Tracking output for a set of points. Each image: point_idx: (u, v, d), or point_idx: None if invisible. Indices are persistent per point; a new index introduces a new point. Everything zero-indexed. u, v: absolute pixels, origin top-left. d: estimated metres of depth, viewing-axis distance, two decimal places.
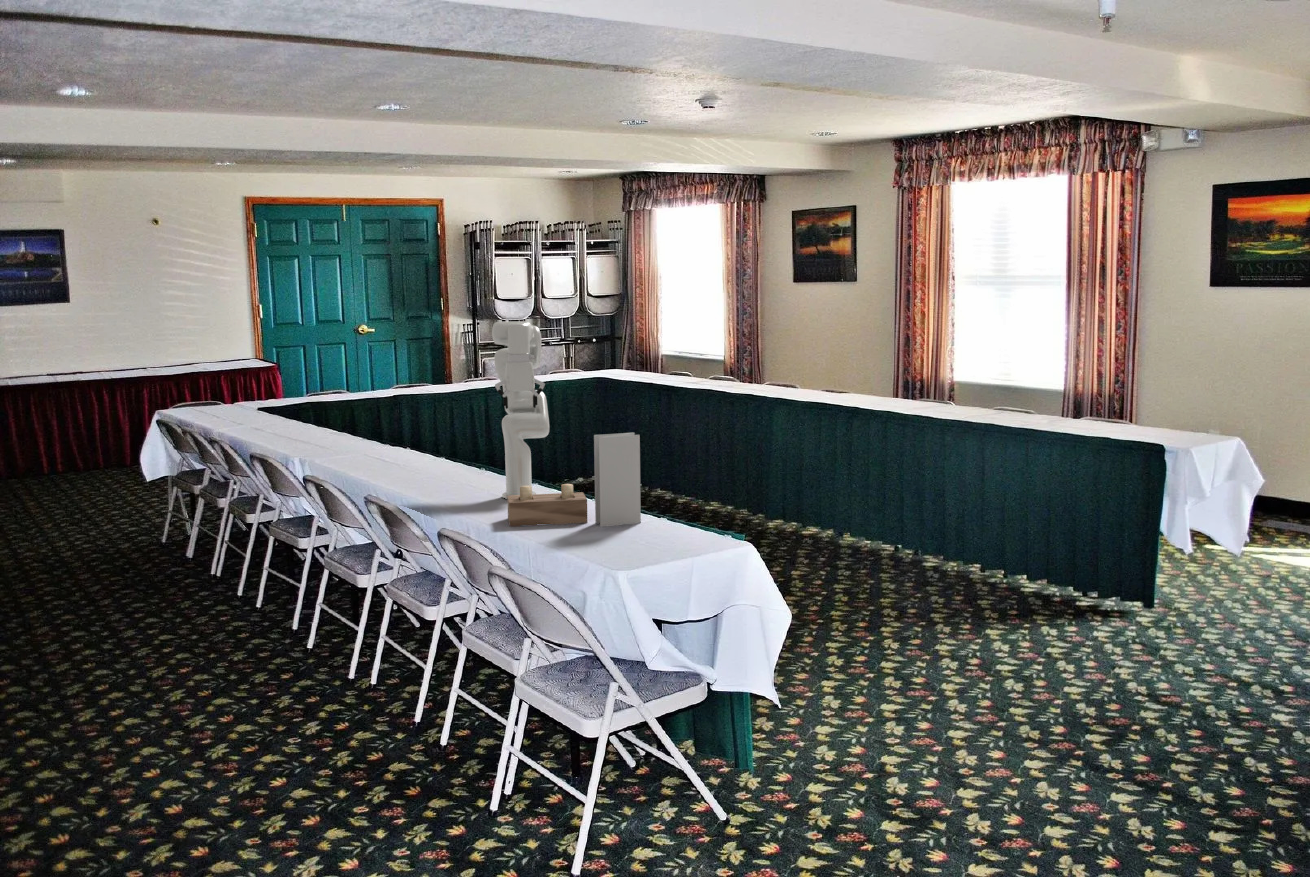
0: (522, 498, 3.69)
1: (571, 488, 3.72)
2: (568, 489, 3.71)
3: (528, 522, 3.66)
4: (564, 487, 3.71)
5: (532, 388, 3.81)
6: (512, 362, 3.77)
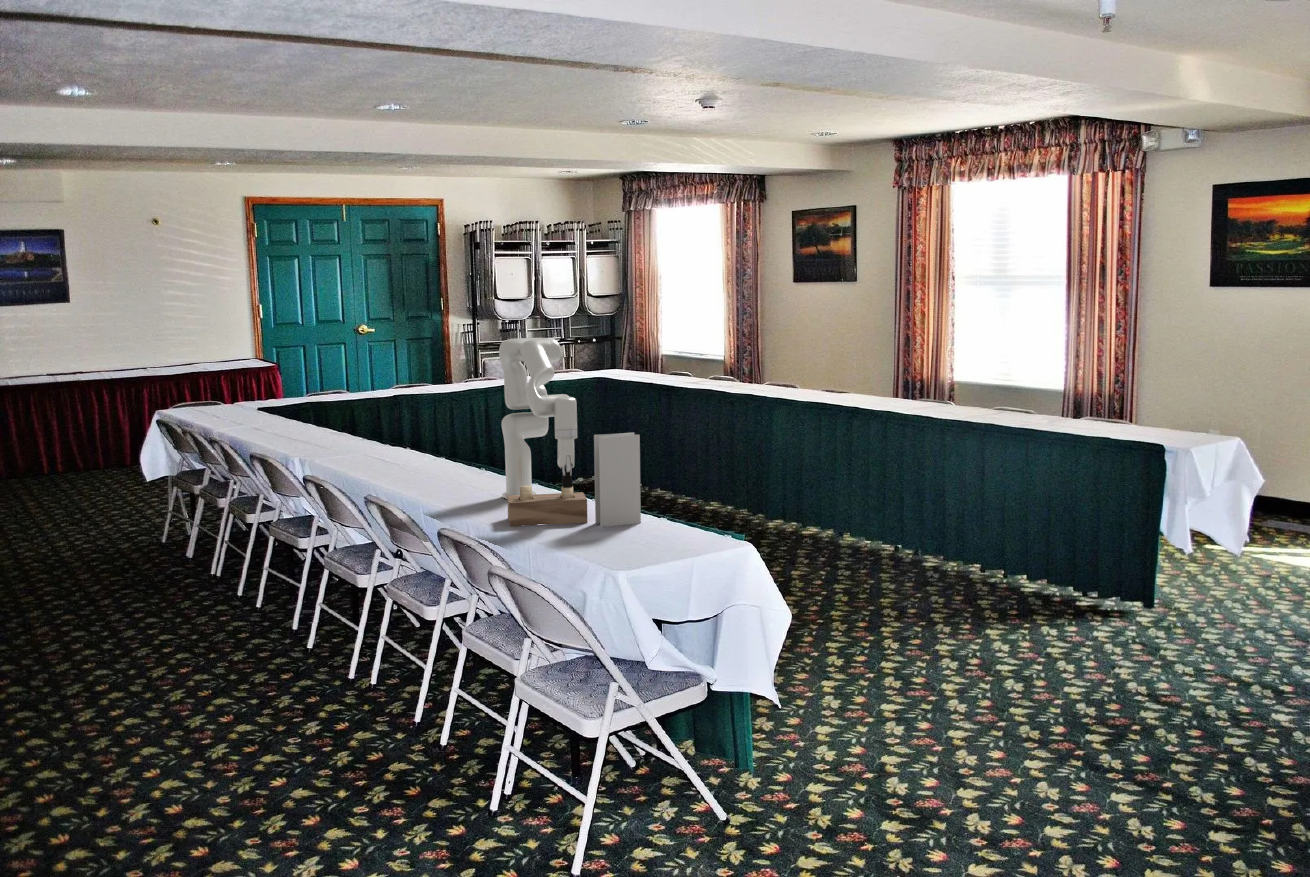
0: (522, 498, 3.69)
1: (571, 490, 3.72)
2: (568, 491, 3.71)
3: (528, 522, 3.66)
4: (564, 489, 3.71)
5: None
6: (575, 437, 3.68)
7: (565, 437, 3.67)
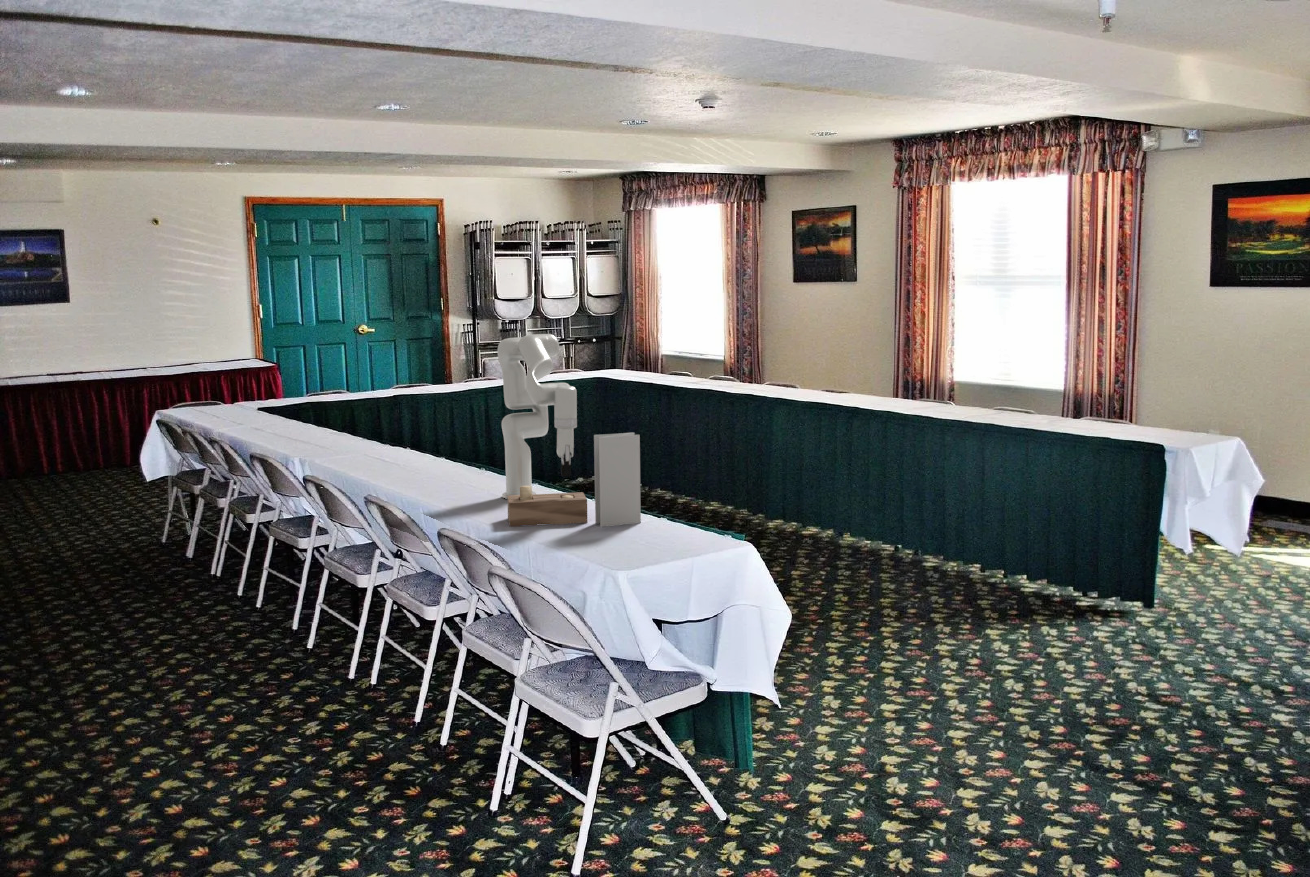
0: (522, 498, 3.69)
1: None
2: None
3: (528, 522, 3.66)
4: None
5: None
6: (574, 426, 3.68)
7: (565, 426, 3.66)
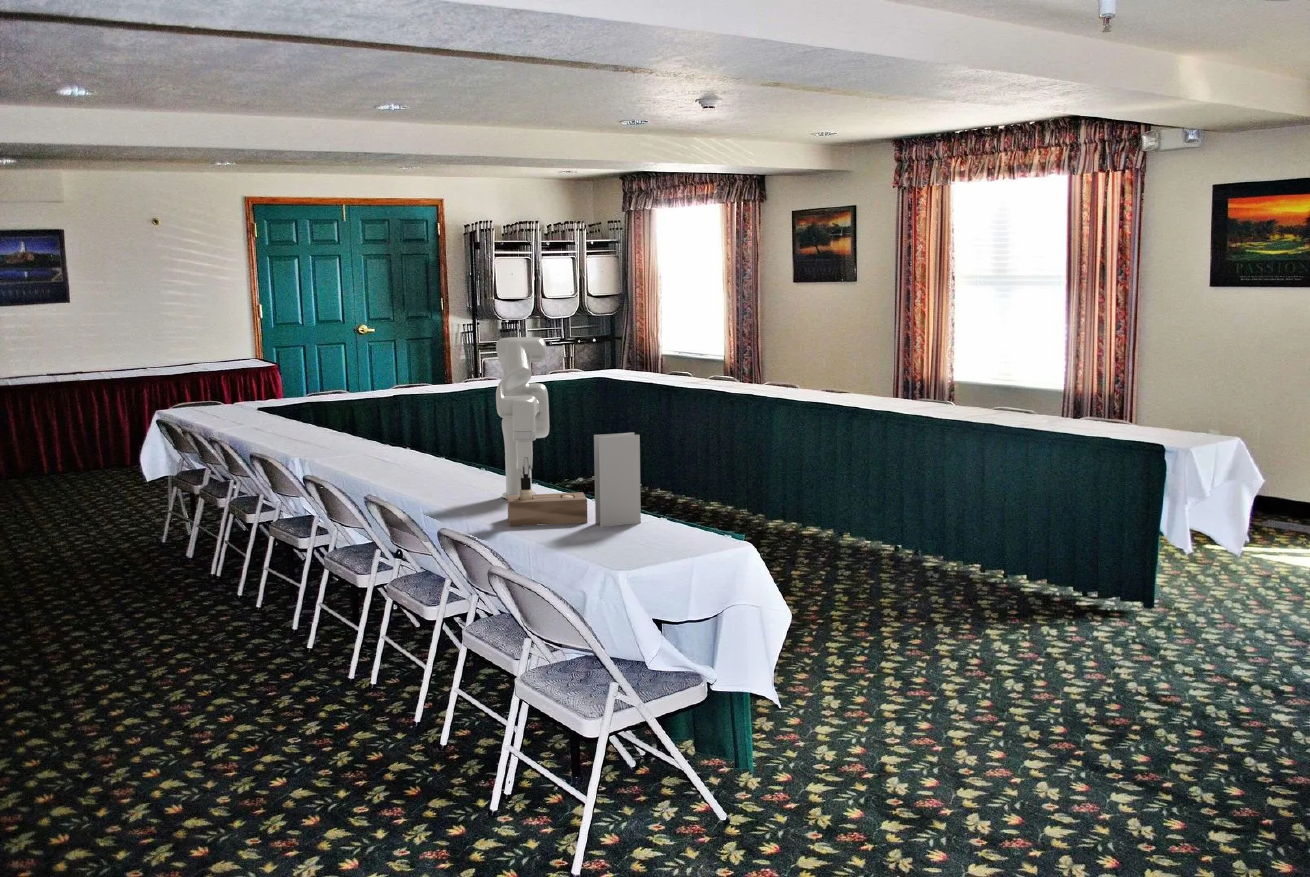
0: None
1: None
2: None
3: (528, 522, 3.66)
4: None
5: None
6: (533, 439, 3.66)
7: (523, 439, 3.64)
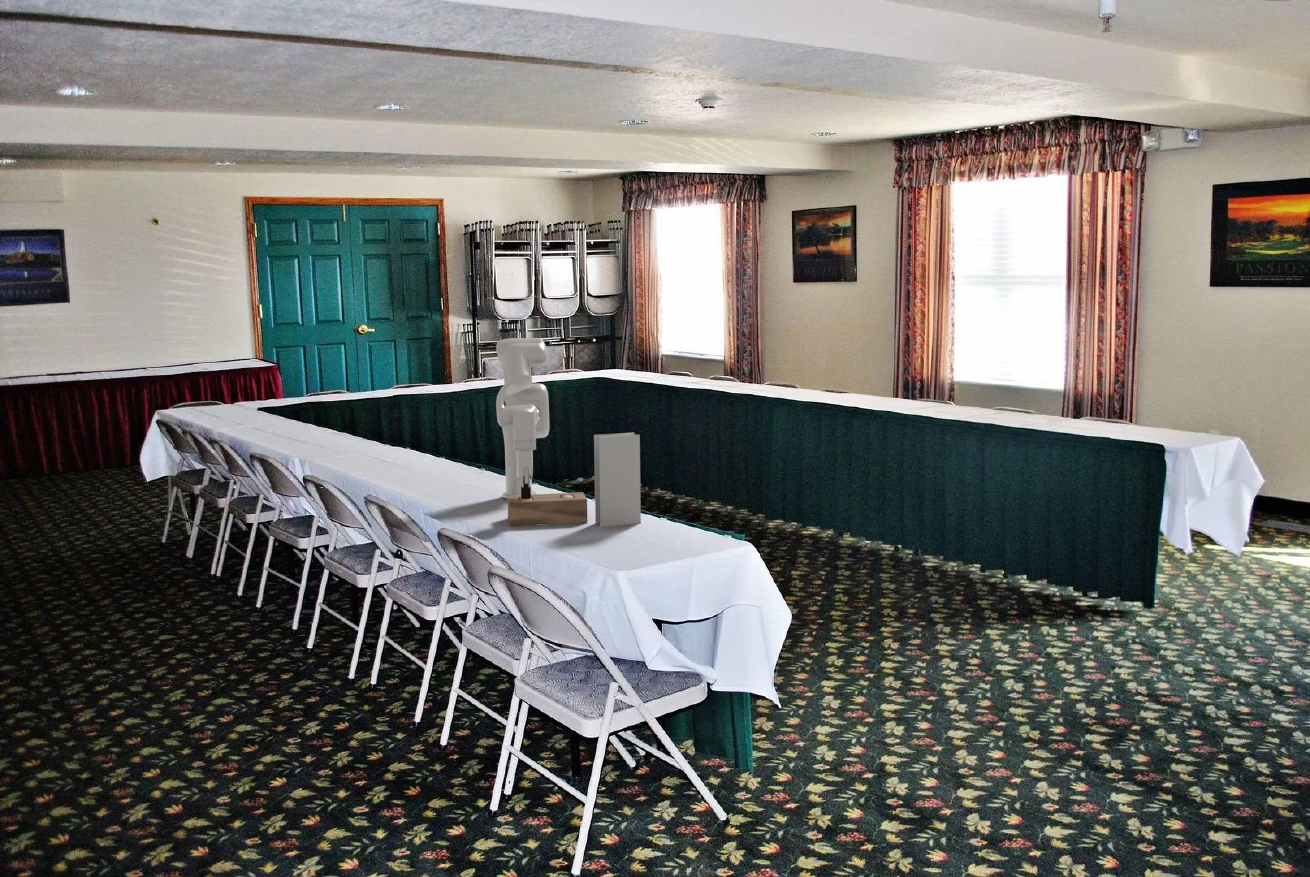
0: None
1: None
2: None
3: (528, 522, 3.66)
4: None
5: None
6: (533, 448, 3.66)
7: (523, 448, 3.65)
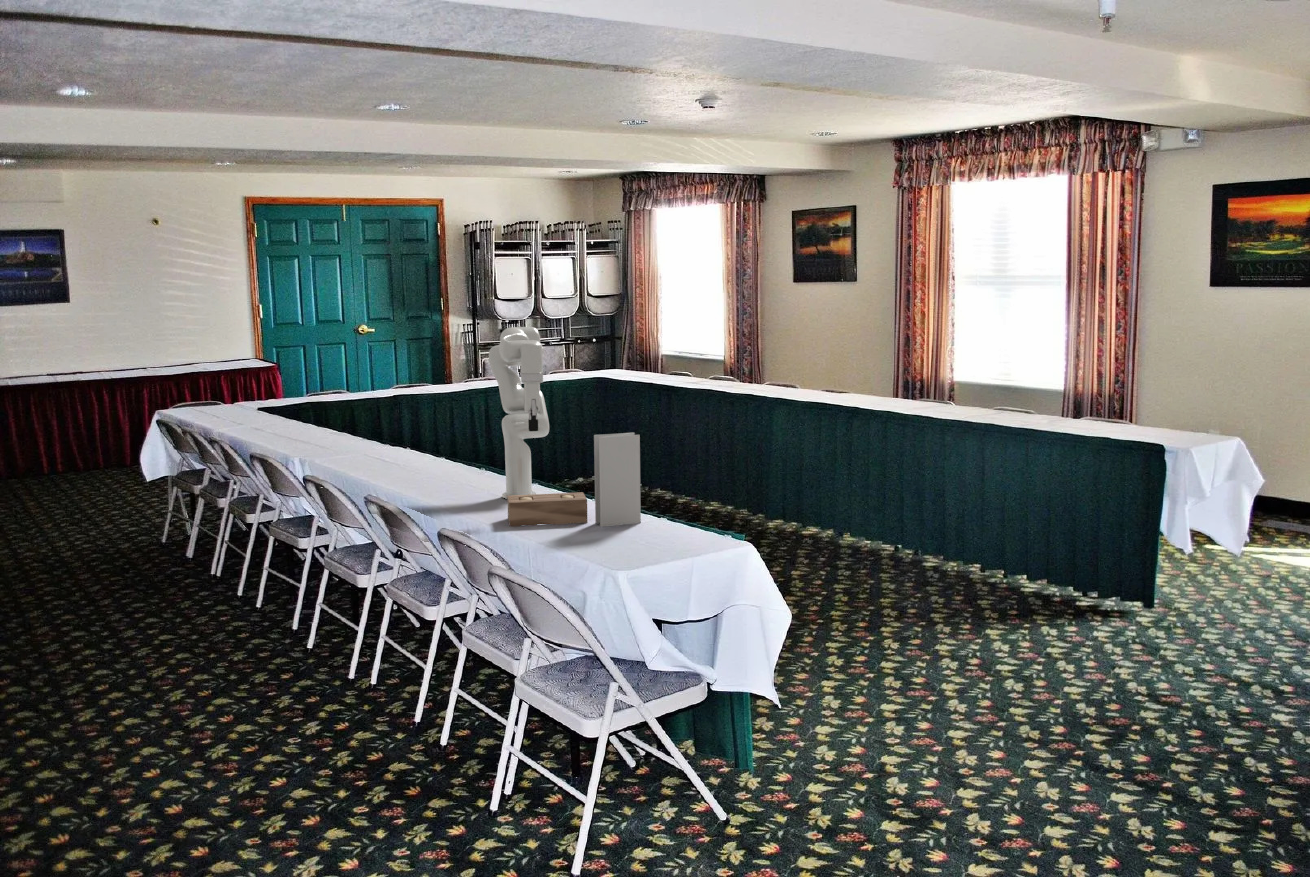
0: None
1: None
2: None
3: (528, 522, 3.66)
4: None
5: None
6: (540, 381, 3.76)
7: (531, 381, 3.75)
